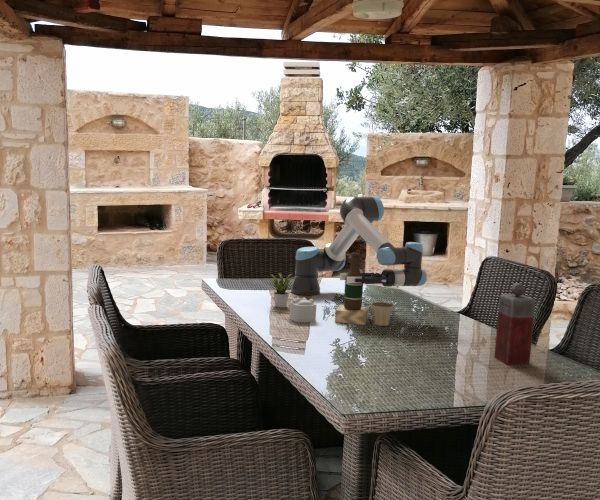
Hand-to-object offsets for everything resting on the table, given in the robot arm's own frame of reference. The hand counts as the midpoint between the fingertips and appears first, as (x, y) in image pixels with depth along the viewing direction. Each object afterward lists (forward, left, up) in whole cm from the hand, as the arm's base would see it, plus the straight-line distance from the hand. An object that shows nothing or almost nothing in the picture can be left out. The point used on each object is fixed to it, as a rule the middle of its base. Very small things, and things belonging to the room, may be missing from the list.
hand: (343, 278), depth 284 cm
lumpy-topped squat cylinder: (-17, -4, -19) cm, 25 cm away
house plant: (-30, +17, -18) cm, 39 cm away
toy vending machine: (+66, -37, -19) cm, 78 cm away
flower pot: (+17, -1, -19) cm, 25 cm away
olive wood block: (+4, +2, -18) cm, 19 cm away
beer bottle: (+4, +2, -13) cm, 14 cm away
